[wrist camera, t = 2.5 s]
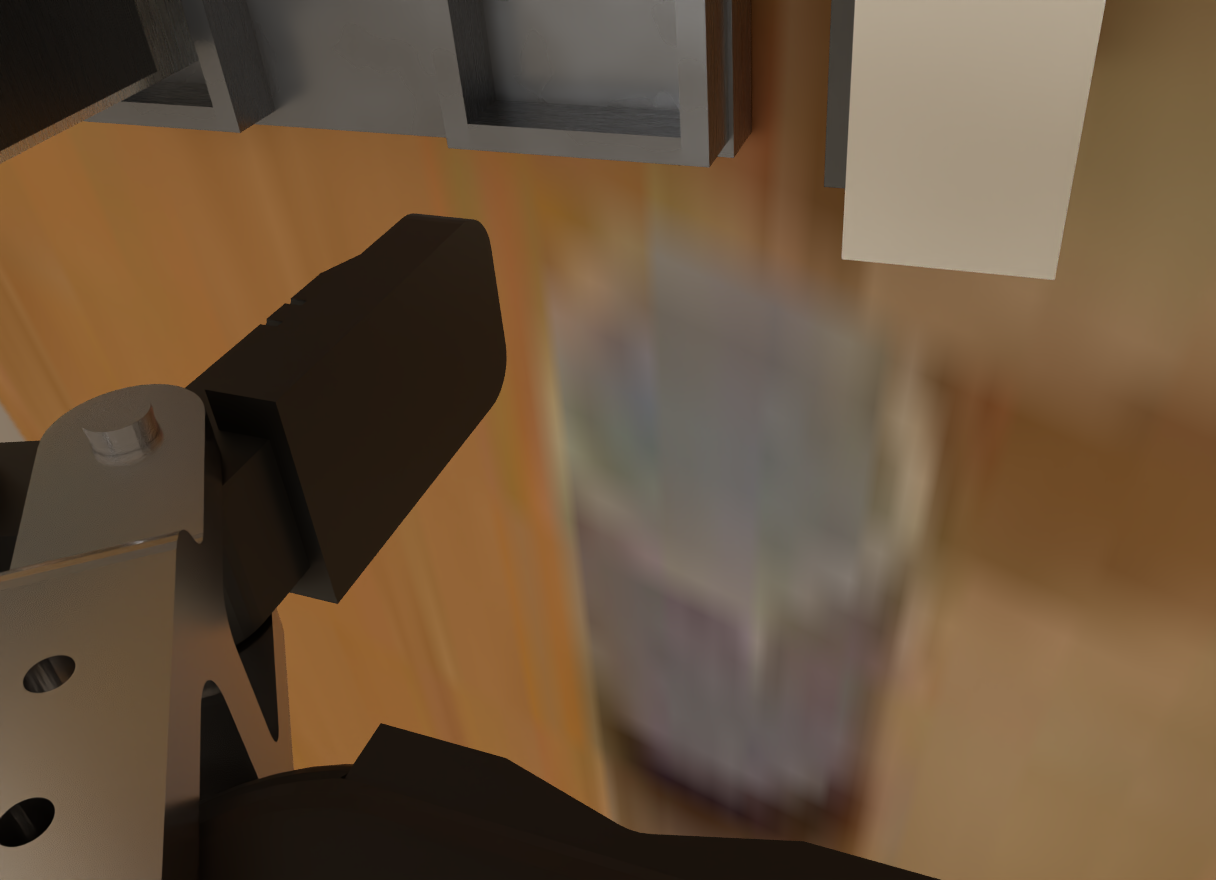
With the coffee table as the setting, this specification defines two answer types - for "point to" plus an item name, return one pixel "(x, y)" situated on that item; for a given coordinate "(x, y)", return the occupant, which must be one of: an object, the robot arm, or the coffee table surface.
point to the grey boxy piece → (391, 71)
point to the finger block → (958, 128)
